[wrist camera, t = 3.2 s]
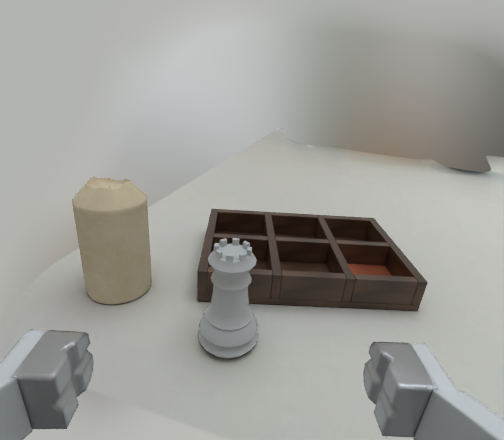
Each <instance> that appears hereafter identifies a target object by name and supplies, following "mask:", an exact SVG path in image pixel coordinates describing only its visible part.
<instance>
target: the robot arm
mask: <svg viewBox="0 0 504 440" xmlns="http://www.w3.org/2000/svg"><path fill="white" fill-rule="evenodd" d="M89 344H90V340H89V335H88V333H85V332H73V331H56V330H49V331H48V330H33V329H31V330H29V331H27V332H26V333H25V334H24V335H23V336H22V337H21V338H20V340H19V341H18V342H17V343H16V344H15V346H14V347H13V348H12V349H11V350H10V352H9V353H8V354H7V355H6V356H5V358H4V359H3V360H2V361H1V362H0V440H23V439H24V438H25V437H26V436H27V435H29V434H30V433H31V432H32V429H67V427H68V425H69V423H70V421H71V419H72V417H73V415H74V413H75V411H76V409H77V407H78V400H77V397H78V396H79V395H80V394H81V393H83V392H84V391H85V390H86V389H87V387H88V384H89V382H90V380H91V376H92V372H93V356H92V354H91V353H90V352H89V351H88V350H87V348H88V346H89ZM369 354H370V356H371V359H370V360H369V361H368V362H367V363H365V368H364V386H365V390H366V393H367V396H368V398H369V399H370V400H371V401H372V402H373V403H374V404H376V407H375V410H374V415H375V417H376V420H377V422H378V425H379V428H380V430H381V433H382V436H396V437H414V440H504V419H503V418H501V417H500V416H499V415H497V414H496V413H494V412H493V411H492V410H490V409H489V408H487V407H486V406H484V405H483V404H482V403H480V402H479V401H477V400H476V399H474V398H473V397H472V396H470V395H469V394H467V393H466V392H464V391H458V389H457V388H456V386H455V385H454V383H453V382H452V380H451V379H450V377H449V376H448V374H447V373H446V371H445V370H444V368H443V367H442V365H441V364H440V362H439V361H438V359H437V358H436V356H435V355H434V353H433V352H432V350H431V349H430V347H429V346H428V345H426V344H425V343H394V342H373V343H372V344H371V346H370V349H369Z"/></svg>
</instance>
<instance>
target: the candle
mask: <svg viewBox="0 0 504 440" xmlns="http://www.w3.org/2000/svg"><path fill="white" fill-rule="evenodd" d="M72 203H73V210H74V217H75V223H76V229H77V235H78V242H79V248H80V254H81V260H82V267H83V273H84V279H85V285H86V290H87V293H88V295H89V297H90V298H91V299H93V300H94V301H96V302H99V303H103V304H120V303H126V302H129V301H132V300H135V299H137V298H139V297H140V296H142V295H143V294H145V293H146V292H147V291H148V289H149V288H150V286H151V259H150V243H149V227H148V210H147V196H146V194H145V193H144V192H143V191H142V190H141V189H139V188H138V187H137V186H135V185H134V184H133V183H132V182H131V181H130V180H127V179H124V180H123V181H120V180H114V179H111V178H96V177H93V178H90V179H89V181H88V182H87V183H86V184H85V185H84V187H83V188H82V189H81V190H80V191H79V192H78V193H77V194H76V195H75V196H74V198H73V199H72Z"/></svg>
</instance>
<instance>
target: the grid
mask: <svg viewBox="0 0 504 440" xmlns="http://www.w3.org/2000/svg"><path fill="white" fill-rule="evenodd" d="M224 238H226V239H227V244H232V239H233V238H239V239H240V240H239V244H240V245H243V242H244V241H247V242H249V243H250V247H252V253H253V254H254V256H255V258H256V259H257V261H256V265H255V266H254V267H253V268H252V269H251V270H250V271H249V274H250V276H251V278H252V279H251V283H250V284H249V285H248V299H249V303H254V304H277V305H300V306H322V307H345V308H367V309H390V310H412V311H418V309H419V305H420V303H421V300H422V297H423V294H424V291H425V288H426V285H427V281H426V280H425V279H424V278H423V276H422V275H421V274H420V273H419V272H418V270H417V269H416V268H415V267H414V266H413V264H412V263H411V262H410V261H409V260H408V259H407V257H406V256H405V255H404V254H403V253H402V251H401V250H400V249H399V248H398V247H397V245H396V244H395V243H394V242H393V241H392V239H391V238H390V237H389V236H388V235H387V233H386V232H385V231H384V230H383V229H382V228H381V226H380V225H379V224H378V223H377V222H376V220H375V219H374V218H362V217H345V216H327V215H323V216H322V215H310V214H292V213H275V212H258V211H240V210H223V209H211V214H210V218H209V223H208V227H207V232H206V236H205V241H204V245H203V249H202V254H201V258H200V263H199V267H198V282H197V295H198V296H197V300H198V301H209V302H211V299H212V294H213V285H214V284H213V283H212V280H211V276H212V273H213V272H214V271H215V270H214V269H213V268H212V266H211V265H210V264H209V261H208V257H209V255H210V253H211V252H212V251H213V250H214V245H215V243H220V240H221V239H224Z"/></svg>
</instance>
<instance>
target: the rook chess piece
mask: <svg viewBox="0 0 504 440" xmlns="http://www.w3.org/2000/svg"><path fill="white" fill-rule="evenodd" d="M239 240H240V239H239V238H233V239H232V244H227V239H226V238H224V239H221V240H220V243H215V245H214V250H213V251H212V252H211V253H210V255H209V257H208V261H209V264H210V265H211V266H212V268H213V269H214V270H215V271H214V272H213V273H212V276H211V280H212V283H213V284H214V285H213V294H212V299H211V304H210V305H209V306H208V307H207V310H206V312H205V313H204V314H203V316H202V319H201V322H200V324H199V326H200V331H199V333H198V336H199V341H200V343H201V345H202V346H203V347H204V348H205V350H206V351H208V352H209V353H211V354H213V355H215V356H217V357H219V358H226V359H230V358H236V357H240V356H241V355H243V354H245V353H247V352H248V351H250V350H251V349H252V348H253V346H254V345H255V344H256V342H257V336H258V333H257V327H258V324H257V320H256V318H255V316H254V314H253V312H252V309H251V307H250V306H249V299H248V285H249V284H250V283H251V279H252V278H251V276H250V274H249V271H250V270H251V269H252V268H253V267H254V266H255V265H256V261H257V259H256V258H255V256H254V254H253V253H252V247H250V243H249V242H247V241H244V242H243V245H240V244H239Z"/></svg>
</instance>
